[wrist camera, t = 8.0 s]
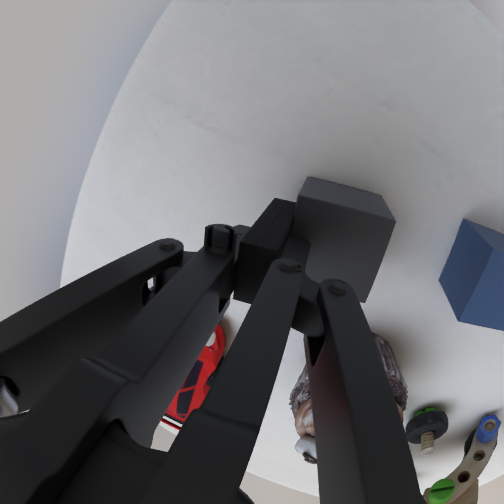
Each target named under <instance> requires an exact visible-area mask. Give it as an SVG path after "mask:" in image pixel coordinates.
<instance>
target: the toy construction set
mask: <svg viewBox="0 0 504 504" xmlns="http://www.w3.org/2000/svg"><path fill="white" fill-rule="evenodd" d="M500 424H501V422H500V420H499V419H498V418H497V417H496V416H495V415H490V416H486V417H483V419H482V421H481V423H480V425H479V427H478V428H477V429H476V430H475V431H473V432H472V433H471V434H470V435H469V437H468V439H467V440H466V442H465V446H464V452H465V454H464V457H463V460H462V462H461V464H460V465H459V466H458V467H457V468H456V469H455V470H454V471H453V472H452V473H451V474H450V475H449V476H447V477H446V478H445V479H441V480H439V481H437V482H436V483H434V484H433V486H432V487H431V488H427V489H426V490H425V492H424V494H423V498H424V499H425V501H426V502H427V504H477V501H478V479H477V478H478V477H479V475H480V474H481V473H482V471H483V470H484V468H485V466H486V465H487V463H488V461H489V459H490V457H491V455H492V453H493V451H494V449H495V447H496V445H497V436H498V429H499V427H500ZM447 428H448V419H447V415H446V414H445V413H444V412H443V411H438V410H437V409H435V408H426V409H425V411H422V410H420V411H419V412H417V413H416V414H415V415H414V418H412V419H411V420H410V421H409V422H408V424H407V426H406V428H405V429H406V437H407V440H408V441H409V442H411V443H414V444H421V453H422V454H429V453H431V452H432V451H433V449H434V447H433V446H434V444H433V443H434V441H433V440H435V439H438V438H439V437H441V436H442V435H443V434H444V433H445V432H446V431H447Z"/></svg>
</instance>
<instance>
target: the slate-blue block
mask: <svg viewBox="0 0 504 504" xmlns="http://www.w3.org/2000/svg"><path fill="white" fill-rule="evenodd" d="M439 282H440V284H441V286H442V288H443V290H444V292H445V294H446V296H447V298H448V300H449V302H450V304H451V307H452V309H453V311H454V313H455V316H456V318H457V320H458V321H459V322H464V323H468V324H473V325H478V326H482V327H487V328H492V329H497V330H502V331H504V234H501V233H499V232H496V231H494V230H491V229H489V228H486V227H484V226H481V225H479V224H476V223H474V222H471V221H468V220H466V219H463V220H462V223H461V226H460V229H459V232H458V234H457V237H456V240H455V242H454V245H453V248H452V250H451V253H450V255H449V258H448V260H447V262H446V265H445V267H444V269H443V272H442V274H441V276H440V278H439Z"/></svg>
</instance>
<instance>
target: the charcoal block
mask: <svg viewBox="0 0 504 504" xmlns="http://www.w3.org/2000/svg"><path fill="white" fill-rule="evenodd" d="M395 222H396V221H395V219H394V217H393V215H392V213H391V212H390V210H389V208H388V206H387V204H386V203H385V201H384V199H383V197H382V196H381V195H378V194H374V193H371V192H367V191H364V190H360V189H357V188H353V187H349V186H346V185H342V184H338V183H334V182H330V181H326V180H322V179H318V178H314V177H309V176H308V177H307V179H306V181H305V183H304V185H303V187H302V188H301V190H300V192H299V194H298V197H297V202H296V207H295V212H294V216H293V221H292V226H291V231H290V236H294V237H298V238H303V239H307V240H308V241H309V243H310V244H311V247H310V251H309V255H308V260H307V264H306V268H305V272H306V275H307V276H308V277H309V278H310V279H311V280H313V281H315V282H317V283H319V284H320V283H321V282H322V281H323V280H325V279H339V280H342V281H344V282H346V283H348V284H349V285H350V286H351V287H352V288H353V289H354V291H355V293H356V296H357V298H358V301H359V302H362V303H365V302H366V300H367V297H368V295H369V292H370V290H371V288H372V285H373V283H374V280H375V278H376V275H377V273H378V270H379V267H380V265H381V262H382V259H383V257H384V254H385V251H386V249H387V246H388V243H389V240H390V237H391V234H392V231H393V228H394V225H395Z"/></svg>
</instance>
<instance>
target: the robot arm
mask: <svg viewBox="0 0 504 504" xmlns="http://www.w3.org/2000/svg"><path fill="white" fill-rule="evenodd" d="M295 207H296V202H291V201H287V200H282V199H278V198H274V200H273V201H272V202H271V203H270V205H269V206H268V207H267V208H266V210H265V211H264V212H263V213H262V215H261V216H260V217H259V218H258V220H257V221H256V222H255V223H254V225H253V226H252V227H248V226H244V225H237V226H234V227H232V226H229V225H224V224H212V225H208V226H206V227H205V238H204V246H203V247H202V248H201V249H200V250H199V251H198V252H188V251H184V245H183V244H182V242H180V241H179V240H175V239H172V238H166V239H160V240H157V241H155V242H153V243H150V244H148V245H146V246H144V247H142V248H140V249H138V250H136V251H134V252H131V253H129V254H127V255H125V256H123V257H121V258H119V259H117V260H115V261H113V262H111V263H109V264H107V265H105V266H103V267H101V268H99V269H97V270H95V271H93V272H91V273H89V274H87V275H85V276H83V277H81V278H79V279H77V280H75V281H73V282H72V283H70V284H68V285H66V286H64V287H62V288H60V289H58V290H56V291H55V292H53V293H51V294H49V295H47V296H45V297H43V298H42V299H40V300H38V301H36V302H34V303H33V304H31V305H29V306H27V307H25V308H24V309H22V310H20V311H19V312H17V313H15V314H13V315H11V316H10V317H8V318H6V319H4V320H3V321H1V322H0V504H254V502H253V501H252V500H251V499H250V498H249V497H248V495H247V494H245V493H244V492H243V491H242V490H241V489H240V488H239V487H240V484H241V481H242V479H243V476H244V473H245V471H246V468H247V465H248V462H249V460H250V457H251V454H252V451H253V448H254V445H255V443H256V440H257V437H258V434H259V431H260V427H261V424H262V421H263V418H264V415H265V412H266V409H267V406H268V402H269V399H270V396H271V393H272V390H273V386H274V383H275V380H276V377H277V373H278V370H279V367H280V363H281V360H282V356H283V353H284V349H285V346H286V342H287V339H288V335H289V331H290V328H291V327H292V328H293V329H295V330H297V331H299V332H301V333H303V334H304V339H303V340H304V348H305V355H306V363H307V371H308V379H309V388H310V397H311V406H312V415H313V425H314V435H315V445H316V456H317V468H318V481H319V495H320V504H427V502H426V501H425V499H424V498H423V496H422V495H421V493H420V489H419V484H418V480H417V475H416V471H415V467H414V463H413V459H412V455H411V452H410V448H409V444H408V441H407V437H406V433H405V430H404V427H403V423H402V420H401V417H400V413H399V410H398V407H397V404H396V401H395V397H394V394H393V391H392V388H391V385H390V382H389V380H388V377H387V374H386V371H385V368H384V365H383V362H382V360H381V357H380V354H379V351H378V349H377V346H376V343H375V341H374V338H373V336H372V333H371V330H370V328H369V325H368V323H367V320H366V318H365V315H364V313H363V310H362V308H361V305H360V303H359V301H358V298H357V296H356V293H355V291H354V289H353V288H352V287H351V286H350V285H349V284H348V283H346V282H344V281H342V280H339V279H325V280H323V281H322V282H321V283H320V284H319V283H317V282H315V281H313V280H311V279H310V278H309V277H308V276H307V275H306V272H305V268H306V264H307V260H308V255H309V251H310V247H311V244H310V243H309V241H308V240H307V239H303V238H298V237H294V236H290V231H291V226H292V221H293V216H294V212H295ZM151 278H153V284H154V286H153V287H151V288H148V282H147V281H148V280H149V279H151ZM233 290H234V295H233V299H235V300H238V301H242V302H245V303H249V304H252V305H251V307H250V309H249V311H248V313H247V315H246V317H245V319H244V321H243V323H242V325H241V327H240V329H239V331H238V333H237V335H236V337H235V339H234V341H233V343H232V345H231V347H230V349H229V351H228V353H227V355H226V357H225V359H224V361H223V363H222V365H221V367H220V369H219V371H218V373H217V375H216V377H215V379H214V381H213V383H212V385H211V387H210V389H209V391H208V392H207V394H206V396H205V398H204V400H203V402H202V404H201V405H200V407H199V408H196V409H193V410H192V411H191V412H190V414H189V415H188V417H187V418H186V420H185V422H184V424H183V425H182V427H181V429H180V431H179V433H178V435H177V436H176V438H175V440H174V442H173V444H172V446H171V447H170V449H169V451H168V452H164V451H160V450H155V449H151V448H150V447H151V444H152V440H153V434H154V431H155V429H156V427H157V426H158V424H159V422H160V421H161V419H162V417H163V416H164V414H165V412H166V411H167V409H168V407H169V406H170V404H171V402H172V401H173V399H174V397H175V396H176V394H177V392H178V391H179V389H180V387H181V386H182V384H183V382H184V381H185V379H186V377H187V376H188V374H189V372H190V371H191V369H192V367H193V366H194V364H195V362H196V361H197V359H198V357H199V356H200V354H201V352H202V350H203V349H204V347H205V345H206V344H207V342H208V340H209V339H210V337H211V335H212V334H213V332H214V330H215V329H216V327H217V325H218V323H219V322H220V320H221V318H222V317H223V315H224V313H225V312H226V310H227V308H228V306H229V303H230V296H231V294H232V292H233ZM29 409H30V410H29ZM26 410H29V411H28V412H24V411H26ZM21 412H24V413H21ZM19 413H20V414H19Z"/></svg>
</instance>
